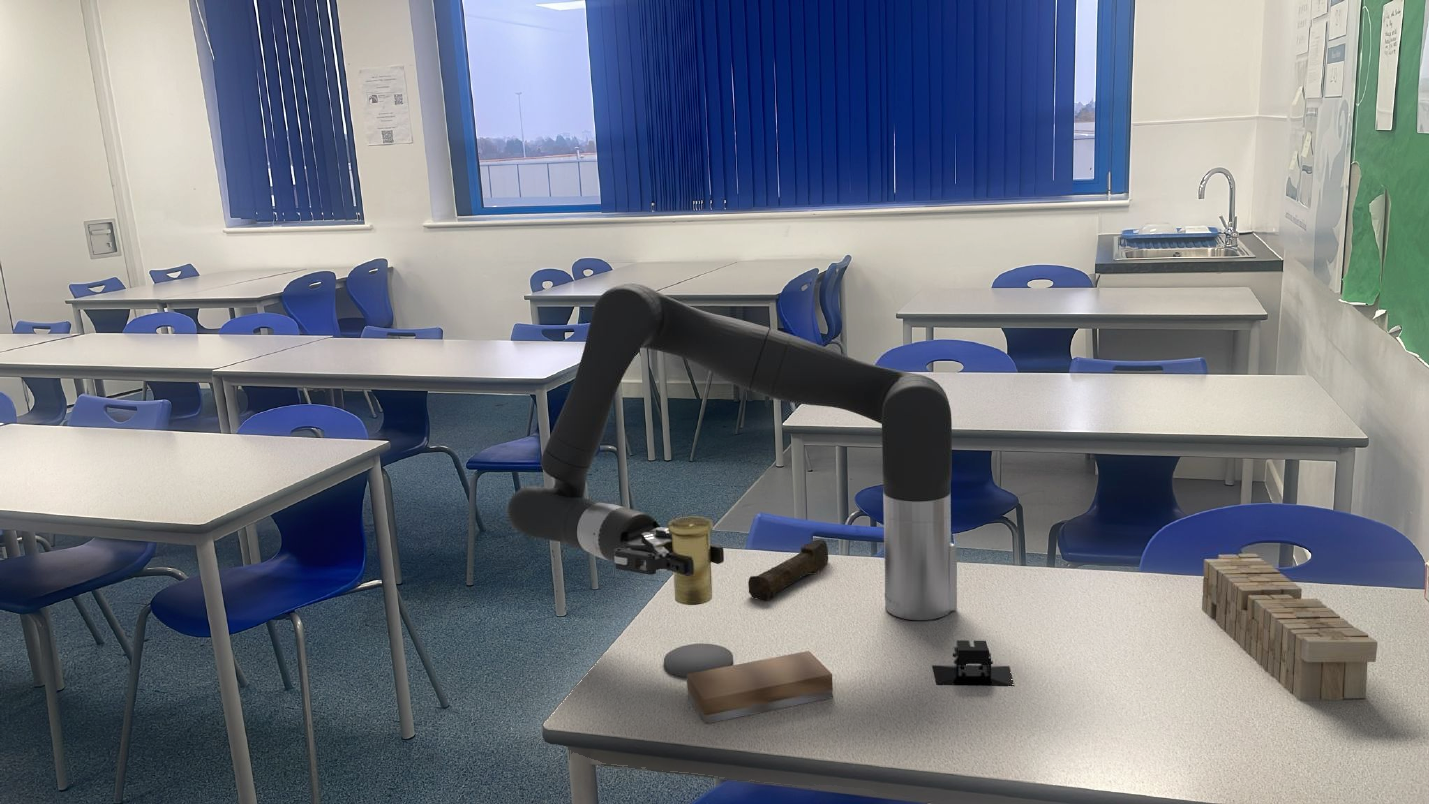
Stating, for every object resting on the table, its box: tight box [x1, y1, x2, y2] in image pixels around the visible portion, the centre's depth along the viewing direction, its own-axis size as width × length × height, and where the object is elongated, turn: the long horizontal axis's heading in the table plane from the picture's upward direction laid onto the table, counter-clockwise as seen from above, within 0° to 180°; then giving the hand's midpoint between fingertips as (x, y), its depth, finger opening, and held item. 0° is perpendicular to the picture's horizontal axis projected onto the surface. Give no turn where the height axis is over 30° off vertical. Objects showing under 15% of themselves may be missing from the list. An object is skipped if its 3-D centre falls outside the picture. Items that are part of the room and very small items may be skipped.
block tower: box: [1201, 553, 1378, 701], centre depth 133 cm, size 8×8×29 cm
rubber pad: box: [663, 643, 734, 679], centre depth 138 cm, size 9×9×1 cm
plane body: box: [686, 650, 834, 725], centre depth 128 cm, size 16×7×3 cm, turn 108°
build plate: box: [931, 639, 1015, 688], centre depth 131 cm, size 12×7×5 cm, turn 82°
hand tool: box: [747, 539, 829, 602], centre depth 164 cm, size 19×4×5 cm, turn 138°
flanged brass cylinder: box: [667, 515, 714, 606], centre depth 135 cm, size 6×6×10 cm
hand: (706, 561), depth 134 cm, fingers closed on flanged brass cylinder, 4 cm apart
